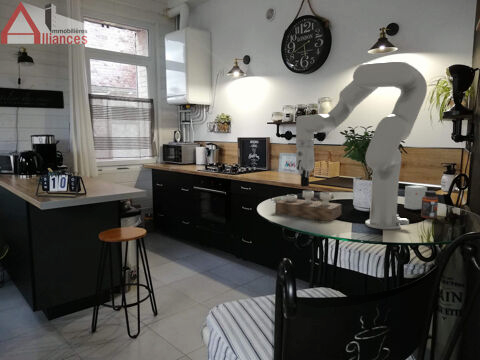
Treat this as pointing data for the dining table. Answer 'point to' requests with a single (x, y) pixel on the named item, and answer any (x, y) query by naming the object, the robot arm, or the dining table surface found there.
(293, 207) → the knob mount
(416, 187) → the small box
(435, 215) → the supplement bottle
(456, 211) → the dining table surface
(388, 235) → the dining table surface
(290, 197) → the knob far
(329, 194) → the knob near
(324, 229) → the dining table surface
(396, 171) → the robot arm
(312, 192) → the knob middle
